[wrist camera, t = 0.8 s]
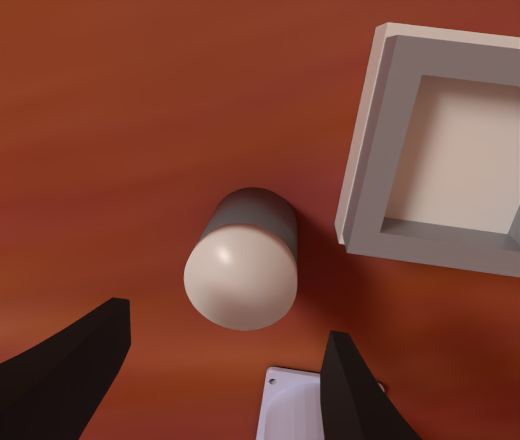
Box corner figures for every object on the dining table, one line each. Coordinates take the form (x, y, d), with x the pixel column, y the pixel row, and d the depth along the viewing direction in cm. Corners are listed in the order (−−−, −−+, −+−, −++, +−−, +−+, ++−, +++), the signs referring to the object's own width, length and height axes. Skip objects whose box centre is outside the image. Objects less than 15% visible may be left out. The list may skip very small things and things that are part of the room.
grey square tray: (495, 246, 21) (543, 292, 17) (334, 223, 21) (343, 263, 17) (576, 50, 17) (665, 47, 13) (376, 27, 17) (400, 17, 13)
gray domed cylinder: (290, 270, 23) (288, 338, 17) (210, 259, 23) (182, 321, 17) (303, 193, 21) (305, 242, 15) (215, 181, 21) (185, 225, 15)
